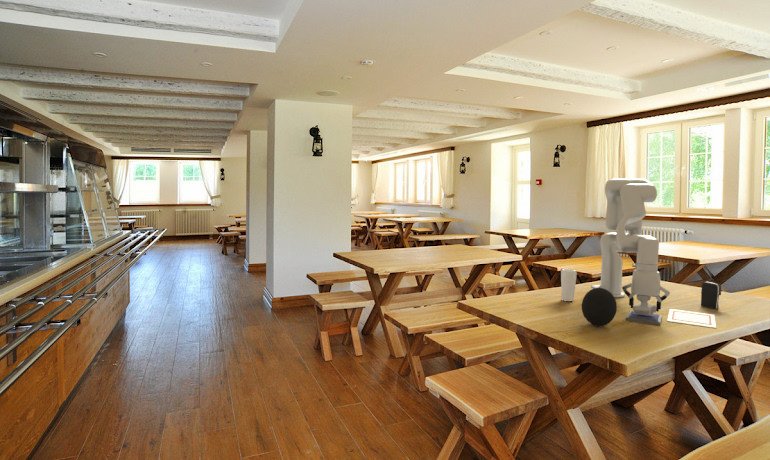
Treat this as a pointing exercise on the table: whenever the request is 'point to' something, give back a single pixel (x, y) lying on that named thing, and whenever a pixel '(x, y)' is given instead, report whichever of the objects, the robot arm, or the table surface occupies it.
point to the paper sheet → (692, 318)
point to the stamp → (644, 306)
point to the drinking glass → (568, 284)
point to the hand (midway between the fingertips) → (644, 309)
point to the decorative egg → (599, 306)
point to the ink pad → (644, 318)
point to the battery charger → (710, 294)
